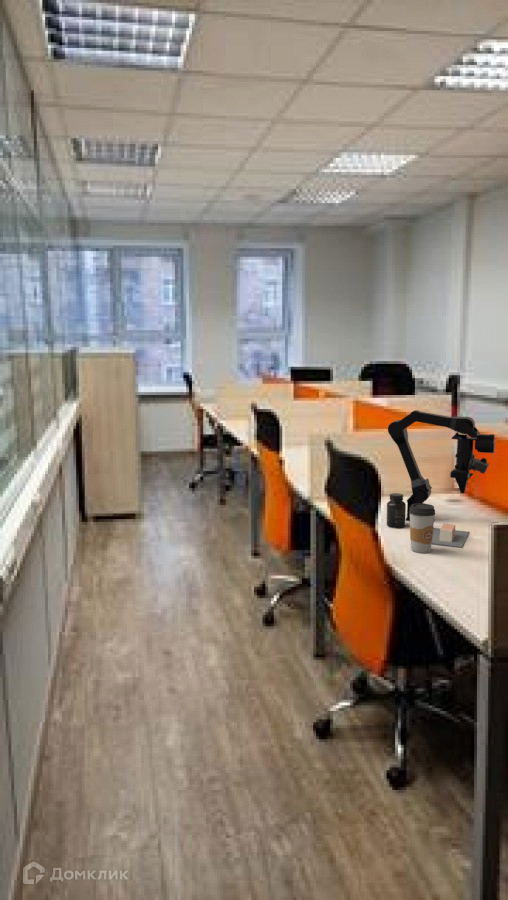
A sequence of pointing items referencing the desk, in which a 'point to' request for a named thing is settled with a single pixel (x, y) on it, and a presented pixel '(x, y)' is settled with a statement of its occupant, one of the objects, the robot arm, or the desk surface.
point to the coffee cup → (421, 527)
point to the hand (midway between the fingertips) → (462, 492)
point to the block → (447, 532)
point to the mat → (456, 542)
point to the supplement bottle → (396, 511)
